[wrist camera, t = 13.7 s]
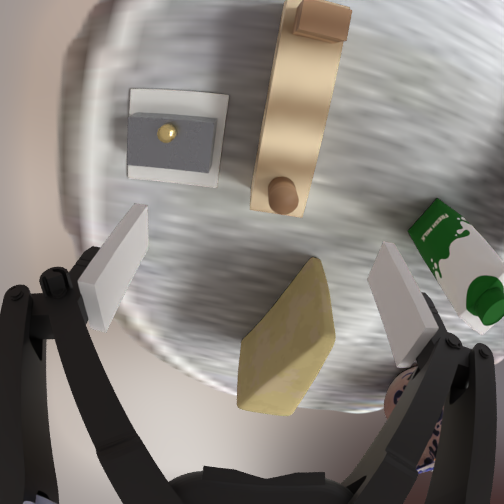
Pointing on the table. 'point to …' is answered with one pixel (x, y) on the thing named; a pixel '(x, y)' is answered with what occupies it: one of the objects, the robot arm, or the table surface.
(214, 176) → the mat
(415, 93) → the table surface
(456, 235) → the milk carton
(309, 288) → the cheese
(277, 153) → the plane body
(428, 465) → the ceramic pitcher
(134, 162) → the lever cap
